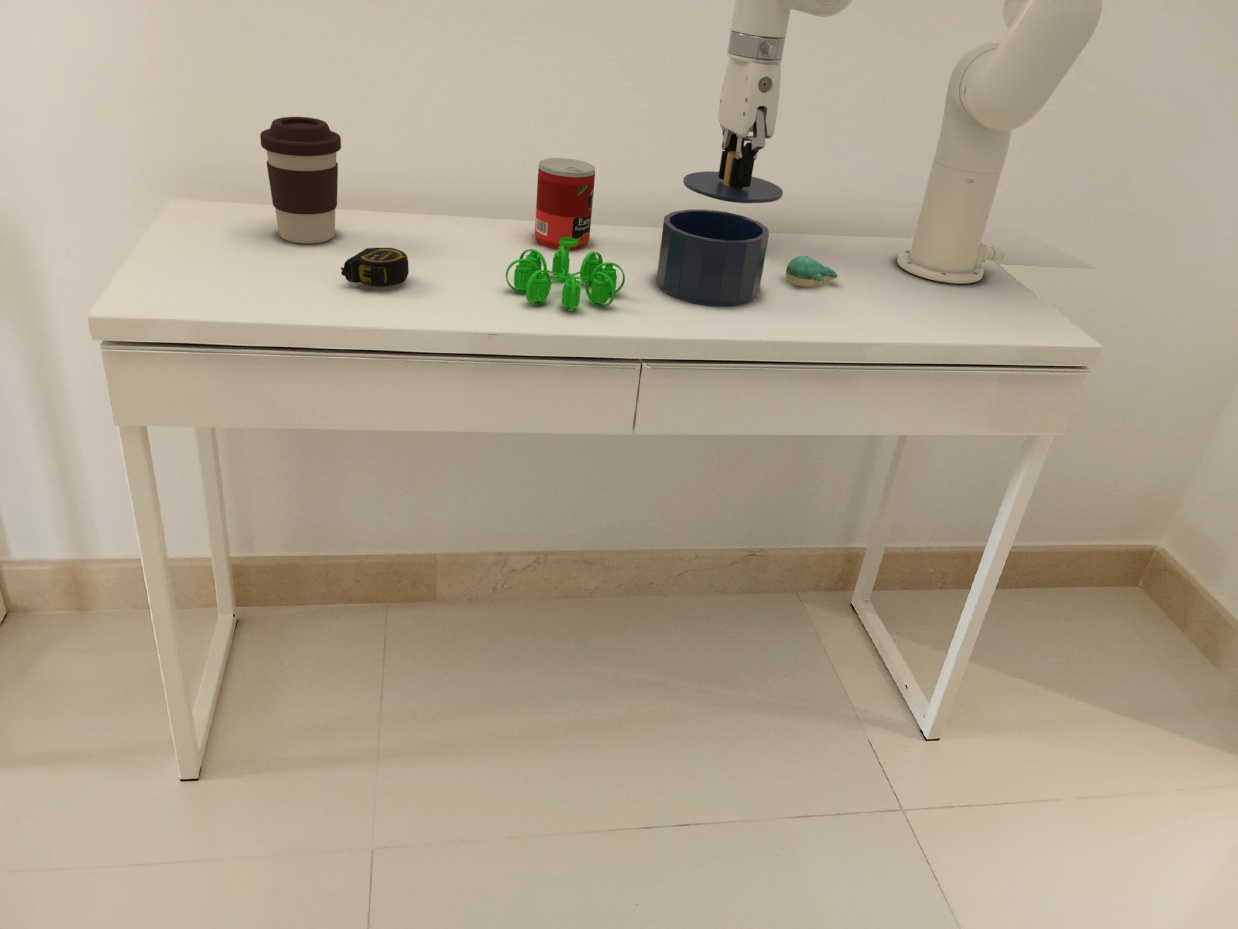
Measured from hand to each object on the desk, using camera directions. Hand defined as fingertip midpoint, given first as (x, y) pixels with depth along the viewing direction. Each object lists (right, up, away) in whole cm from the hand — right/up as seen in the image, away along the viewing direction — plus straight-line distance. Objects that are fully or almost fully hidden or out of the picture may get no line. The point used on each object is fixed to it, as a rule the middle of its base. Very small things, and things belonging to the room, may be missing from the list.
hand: (734, 181), depth 144 cm
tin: (-5, -18, -12) cm, 22 cm away
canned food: (-25, -9, -1) cm, 27 cm away
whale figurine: (+10, -16, -6) cm, 20 cm away
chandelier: (-24, -20, -19) cm, 36 cm away
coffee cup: (-59, -10, -10) cm, 61 cm away
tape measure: (-47, -19, -22) cm, 55 cm away
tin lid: (0, -1, 0) cm, 1 cm away
